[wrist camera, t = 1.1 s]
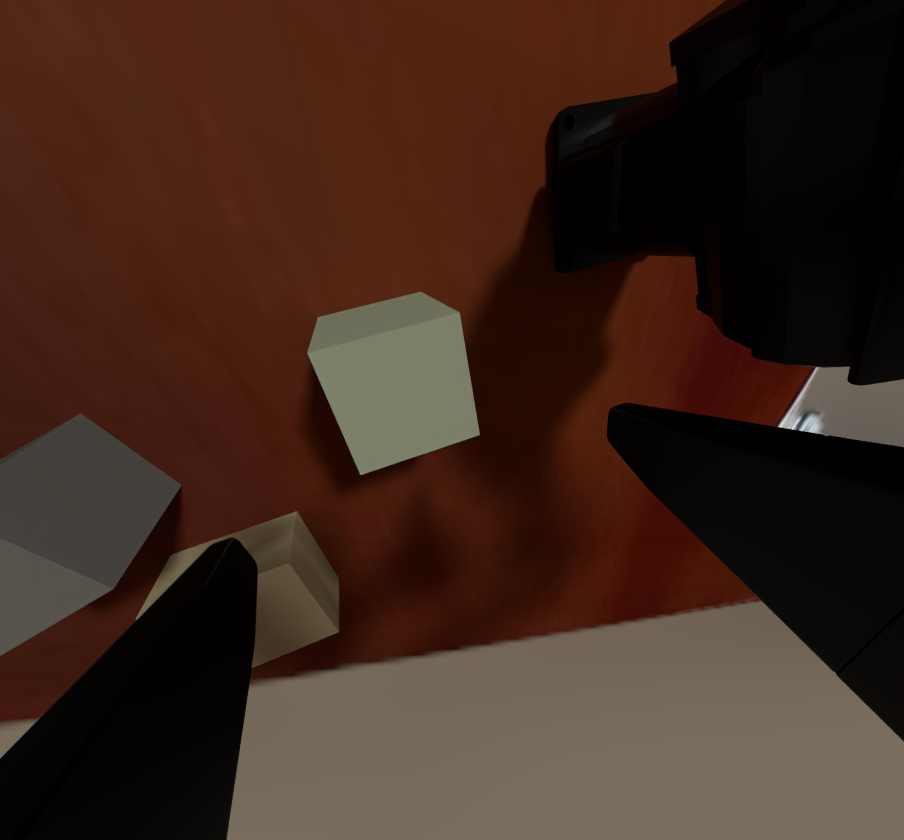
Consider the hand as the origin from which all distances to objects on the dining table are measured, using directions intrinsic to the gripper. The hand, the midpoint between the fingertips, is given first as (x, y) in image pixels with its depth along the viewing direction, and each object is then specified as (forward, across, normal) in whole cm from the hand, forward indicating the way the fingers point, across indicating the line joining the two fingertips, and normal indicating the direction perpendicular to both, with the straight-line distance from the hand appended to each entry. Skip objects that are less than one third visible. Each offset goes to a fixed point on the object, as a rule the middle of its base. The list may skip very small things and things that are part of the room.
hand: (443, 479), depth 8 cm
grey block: (+11, +15, +2) cm, 19 cm away
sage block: (+11, 0, 0) cm, 11 cm away
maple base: (+11, +11, +11) cm, 19 cm away
